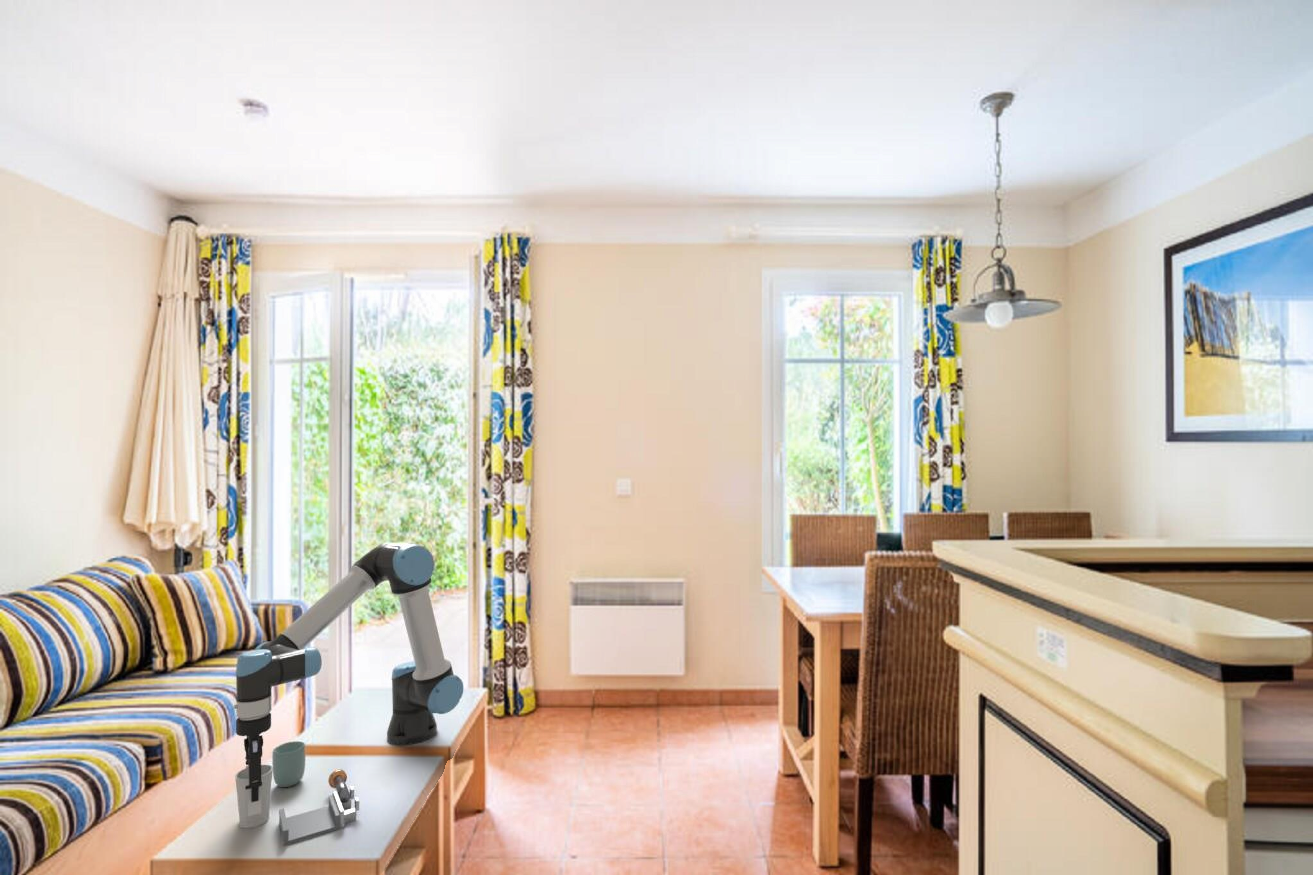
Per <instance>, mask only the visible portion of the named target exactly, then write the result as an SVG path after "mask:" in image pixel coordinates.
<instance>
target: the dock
mask: <svg viewBox="0 0 1313 875" xmlns="http://www.w3.org/2000/svg"><path fill="white" fill-rule="evenodd" d="M278 814H279V815H278V816H279V818H278V819H279V820H278V822H279V828H280V834H281V839H282V844H283V847H284V846H288V845H290V844H294V843H297V842H301V841H305V840H308V839H311V838H314V837H317V836H320V835H324V834H327V833H330V832H334V831H337V830H341V829H342V828H341V815H340V812H339V809H338V807H337V804H336V801H335V799H334V796H333V794H331V795H328V805H326V806H324V807H320V808H317V809H313V810H309V811H306V812H301V813H298V814H295V815H292V816H289V817H287V816H286V812H285V808H284V807H283V808H280V809H278Z"/></svg>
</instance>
